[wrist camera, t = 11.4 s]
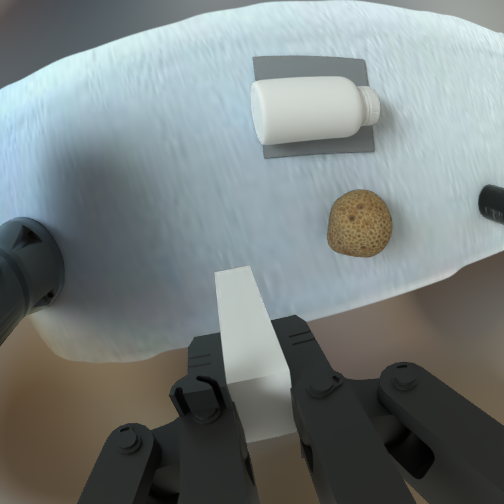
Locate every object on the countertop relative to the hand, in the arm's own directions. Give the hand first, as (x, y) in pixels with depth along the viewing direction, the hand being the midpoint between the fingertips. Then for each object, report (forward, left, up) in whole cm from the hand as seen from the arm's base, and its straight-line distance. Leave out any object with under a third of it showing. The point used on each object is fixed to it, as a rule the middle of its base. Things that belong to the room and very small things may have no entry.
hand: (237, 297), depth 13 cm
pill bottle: (+5, +10, -23) cm, 26 cm away
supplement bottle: (+50, -5, -28) cm, 58 cm away
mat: (+14, +11, -28) cm, 33 cm away
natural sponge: (+17, -5, -28) cm, 33 cm away
